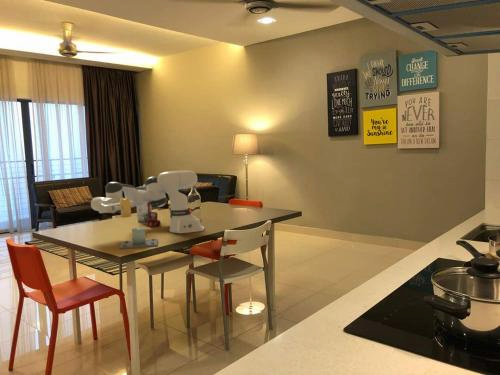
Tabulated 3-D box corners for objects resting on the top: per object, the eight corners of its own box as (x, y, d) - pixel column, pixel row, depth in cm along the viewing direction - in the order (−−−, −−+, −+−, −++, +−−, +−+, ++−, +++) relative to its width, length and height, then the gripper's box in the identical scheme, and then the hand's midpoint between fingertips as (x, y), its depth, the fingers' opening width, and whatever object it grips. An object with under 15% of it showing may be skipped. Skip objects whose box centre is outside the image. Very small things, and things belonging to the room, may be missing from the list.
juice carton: (135, 222, 301) (133, 185, 298) (142, 219, 311) (140, 184, 308) (146, 222, 299) (144, 185, 296) (153, 219, 309) (151, 183, 306)
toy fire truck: (153, 224, 291) (153, 209, 290) (162, 226, 281) (161, 211, 280) (144, 225, 286) (143, 211, 285) (152, 228, 277) (151, 213, 276)
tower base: (157, 240, 241) (156, 225, 240) (157, 246, 227) (156, 230, 226) (122, 243, 237) (121, 228, 236) (119, 249, 223) (118, 233, 222)
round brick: (131, 215, 237) (130, 197, 236) (130, 217, 232) (129, 198, 231) (121, 215, 236) (120, 197, 235) (120, 217, 231) (119, 199, 230)
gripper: (125, 207, 249) (141, 209, 242) (96, 213, 233) (112, 215, 225) (124, 197, 249) (140, 199, 241) (95, 202, 232) (111, 204, 224)
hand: (126, 207), depth 233 cm, fingers closed on round brick, 5 cm apart
